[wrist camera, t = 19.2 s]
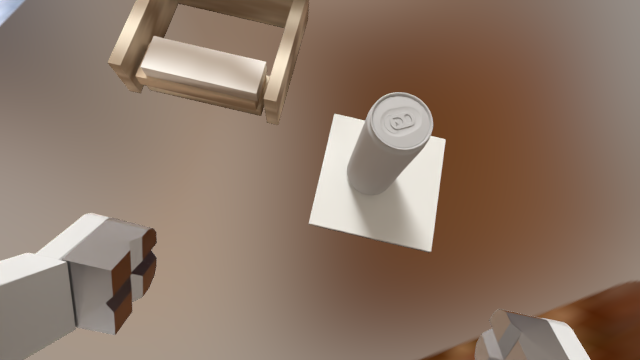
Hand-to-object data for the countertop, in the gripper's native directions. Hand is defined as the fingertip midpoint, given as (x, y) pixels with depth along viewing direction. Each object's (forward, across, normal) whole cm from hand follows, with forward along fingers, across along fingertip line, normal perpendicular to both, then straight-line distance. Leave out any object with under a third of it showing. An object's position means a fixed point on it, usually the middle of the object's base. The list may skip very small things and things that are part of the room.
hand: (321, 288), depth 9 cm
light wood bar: (+33, -14, -6) cm, 36 cm away
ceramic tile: (+28, +5, -10) cm, 31 cm away
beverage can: (+28, +4, -10) cm, 30 cm away
